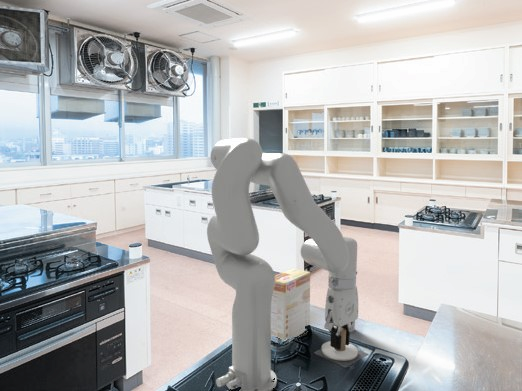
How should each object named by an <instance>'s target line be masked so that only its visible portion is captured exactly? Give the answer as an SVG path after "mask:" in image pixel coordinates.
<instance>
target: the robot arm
mask: <svg viewBox="0 0 522 391" xmlns="http://www.w3.org/2000/svg"><path fill="white" fill-rule="evenodd" d="M210 161H211V164H212V167H213V168H214V169H215V170H216V172H215V174H214V177H213V181H212V184H211V199H212V203H213V208H214V212H215V214H213V215H212V216H211V218H210V219H209V221H208V224H207V228H206V235H207V241H208V244H209V248H210V251H211V255H212V259H213V262H214V265H215V268H216V271H217V273H218V274H217V275H218V276H219V277H220V279H221V280H222V281H223V282H224V283H225V284H226V285H227V286H229V287H231V288H232V289H234V290H235V298H234V301H233V304H232V311H231V345H232V346H231V351H232V352H231V362H232V363H231V366H229V367H228V372H226V374H225V375H222V376H221V377H218V378H216V379H215V384H216V387H217V388H221V387H223V386H225V385H226V387H227V388H228V390H230V389H233V388H236V387H241V389H240V390H239V391H273V390H274V389H275V388H276V386H277V382H278V376H277V374H276V373H275V372H274V371H273V370H272V369H271V368H272V367H271V365H272V360H271V359H272V355H271V354H272V351H271V350H272V347H271V346H272V345H271V344H272V342H271V303H272V296H273V291H274V285H275V276H276V275H275V272H274V269H273V267H272V266H271V264H270V263H268V262H267V261H266V260H265V259H263V258H261V257H259V256H256V255H254V254H252V253H254V252H255V250H257V248H258V246H259V242H260V233H259V229H258V225H257V222H256V219H255V214H254V211H253V207H252V204H251V198H250V184H251V183H253V184H257V185H261V186H268V187H269V188H270V190H271V192H272V194H273V195H274V197H275V200H276V201H277V203H278V206H279V208H280V210H281V211H282V213H283V215H284V217H285V218H286V219H287V220H288V221H289V222H290V223H291V224H292V225H294V226H295V227H296V228H298V229H299V230H301V231H302V232H303V233H305V234H306V235H307V236H308V237H309V238H308V239H307V240H305V241H304V242H303V243H302V245H301V247H300V256H301V259H303V261H305V263H307V264H308V265H311V266H313V267H316V268H319V269H322V270H325V271H327V272H328V282H327V283H328V284H327V286H328V288H327V292H326V297H325V307H324V320H325V323H324V326H323V327H324V328H323V329H326V330H327V331H329V334H330V341H331V342H330V345H331V347H334V348H336V349H338V350H340V349H341V335H340V329H341V328H344V329H346V345H349V343H350V335H351V334H350V332H349V331H350V330H351V325H352V323H353V321H355V322H356V320H357V319H358V317H359V291H358V286H357V274H356V271H357V265H358V242H357V240H356V239H354V238H352V237H348V236H344V235H342V232H341V230H340V228H339V227H338V226H337V224H336V223H335V222H334V221H333V220H332V219H331V218H330V217H329V216H328V215H327V213H326V212H325V211H324V210H323V209H322V208H321V206H319V205H318V204H317V203H316V201H315V199H314V198H313V195H312V193H311V190H310V189H309V187H308V184H307V183H306V181H305V178H304V177H303V174H302V171H301V169H300V168H299V165H298V163H297V161H296V160H295V159H294V157H293V156H291V155H290V154H288V153H285V152H284V153H283V152H263V148H262V146H261V145H260V143H259V142H258V141H256V140H255V139H253V138H250V137H236V138H228V139H222V140H219V141H218V142H216V144H214V145H213V146H212V149H211V151H210ZM335 326H337V328H336V329H335ZM274 378H275V380H273V379H274ZM273 381H274V382H273ZM273 388H274V389H273Z"/></svg>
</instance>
